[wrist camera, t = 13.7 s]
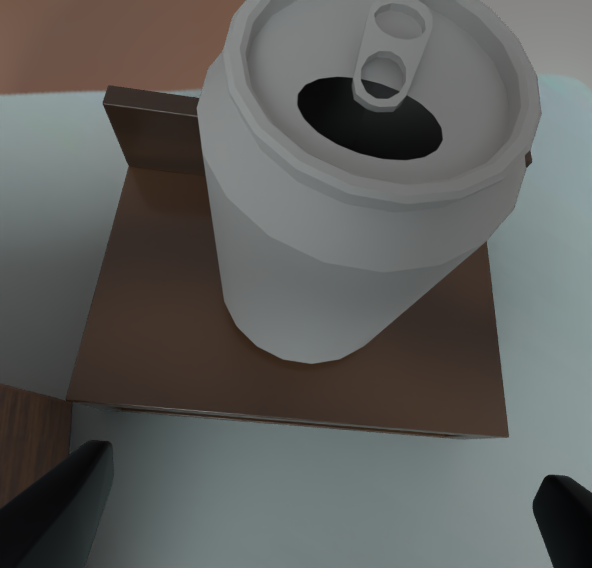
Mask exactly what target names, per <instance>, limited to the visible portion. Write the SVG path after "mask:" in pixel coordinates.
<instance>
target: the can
mask: <svg viewBox="0 0 592 568" xmlns="http://www.w3.org/2000/svg"><path fill="white" fill-rule="evenodd" d="M197 114H198V122H199V130H200V138H201V146H202V153H203V160H204V167H205V174H206V181H207V187H208V194H209V201H210V208H211V215H212V222H213V228H214V235H215V242H216V249H217V256H218V263H219V269H220V276H221V283H222V290H223V297H224V302H225V304H226V306H227V308H228V310H229V312H230V314H231V316H232V318H233V320H234V322H235V324H236V326H237V327H238V328H239V329H240V330H241V331H242V332H243V333H244V334H245V335H246V336H247V337H248V338H249V339H250V340H251V341H252V342H253V343H254V344H255V345H256V346H257V347H259V348H261V349H263V350H265V351H267V352H269V353H271V354H273V355H275V356H277V357H279V358H281V359H283V360H290V361H296V362H303V363H309V364H314V363H320V362H326V361H332V360H338V359H341V358H343V357H345V356H347V355H349V354H350V353H352V352H354V351H356V350H358V349H360V348H362V347H363V346H365V345H366V344H367V343H368V342H369V341H371V340H372V339H373V338H374V337H375V336H376V335H378V334H379V333H380V332H381V331H382V330H383V329H385V328H386V327H387V326H388V325H389V324H390V323H392V322H393V321H394V320H395V319H396V318H397V317H399V316H400V315H401V314H402V313H403V312H404V311H406V310H407V309H408V308H409V307H410V306H411V305H413V304H414V303H415V302H416V301H417V300H418V299H420V298H421V297H422V296H423V295H424V294H425V293H427V292H428V291H429V290H430V289H431V288H432V287H434V286H435V285H436V284H437V283H438V282H439V281H441V280H442V279H443V278H444V277H445V276H446V275H448V274H449V273H450V272H451V271H452V270H453V269H455V268H456V267H457V266H458V265H459V264H460V263H462V262H463V261H464V260H465V259H466V258H467V257H469V256H470V255H471V254H472V253H473V252H474V251H476V250H477V249H478V248H479V247H480V246H481V245H483V244H484V243H485V242H486V241H487V239H488V238H489V237H490V236H491V235H492V234H493V233H494V231H495V230H496V229H497V228H498V227H499V226H500V225H501V223H502V222H503V221H504V220H505V219H506V218H507V216H508V215H509V214H510V213H511V212H512V211H513V210H514V207H515V204H516V201H517V197H518V194H519V191H520V188H521V184H522V181H523V178H524V175H525V171H526V164H525V155H526V154H527V153H528V152H529V150H530V149H531V146H532V143H533V140H534V137H535V133H536V130H537V127H538V124H539V120H540V117H541V114H542V113H541V105H540V97H539V89H538V81H537V75H536V73H535V71H534V69H533V67H532V65H531V63H530V61H529V59H528V57H527V55H526V53H525V51H524V49H523V47H522V45H521V43H520V41H519V39H518V38H517V36H516V35H515V34H514V33H513V32H512V31H511V30H510V29H509V28H508V27H507V26H506V24H504V22H503V21H502V20H501V19H500V18H499V17H498V16H497V15H496V14H495V13H494V11H493V10H492V9H491V8H490V7H488V6H487V5H485V4H484V3H482V2H481V1H479V0H246V1H245V2H244V3H243V4H242V6H241V7H240V8H239V9H238V10H237V12H236V13H235V14H234V15H233V17H232V21H231V24H230V28H229V31H228V35H227V38H226V42H225V46H224V49H223V51H222V52H221V54H220V55H219V56H218V57H217V59H216V60H215V61H214V62H213V63H212V65H211V66H210V67H209V68H208V71H207V75H206V78H205V82H204V85H203V88H202V92H201V95H200V99H199V102H198V106H197Z"/></svg>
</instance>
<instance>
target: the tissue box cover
mask: <svg viewBox="0 0 592 568" xmlns="http://www.w3.org/2000/svg"><path fill="white" fill-rule="evenodd" d="M71 413H72V402H69V401H65V400H61V399H57V398H53V397H50V396H46V395H42V394H38V393H34V392H31V391H27V390H23V389H19V388H15V387H12V386H8V385H4V384H0V508H1V507H2V506H4V505H5V504H6V503H8V502H9V501H10V500H11V499H13V498H14V497H15V496H17V495H18V494H19V493H21V492H22V491H23V490H24V489H26V488H27V487H28V486H30V485H31V484H32V483H34V482H35V481H36V480H38V479H39V478H40V477H41V476H43V475H44V474H45V473H47V472H48V471H49V470H51V469H52V468H53V467H54V466H56V465H57V464H58V463H60V462H61V461H62V460H64V459H65V458H66V457H67V456H69V443H70V428H71Z"/></svg>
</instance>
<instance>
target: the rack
mask: <svg viewBox="0 0 592 568" xmlns="http://www.w3.org/2000/svg"><path fill="white" fill-rule="evenodd" d="M199 99H200V98H195V97H188V96H181V95H173V94H166V93H159V92H152V91H145V90H138V89H131V88H124V87H116V86H108V88H107V91H106V94H105V97H104V100H103V106H104V108H105V111H106V113H107V115H108V118H109V120H110V123H111V125H112V127H113V130H114V132H115V135H116V137H117V139H118V142H119V144H120V147H121V149H122V151H123V154H124V156H125V159H126V161H127V163H128V165H129V167H128V171H127V175H126V178H125V182H124V186H123V189H122V193H121V197H120V201H119V204H118V208H117V212H116V215H115V219H114V223H113V226H112V230H111V234H110V237H109V241H108V245H107V249H106V252H105V256H104V260H103V263H102V267H101V271H100V274H99V278H98V282H97V285H96V289H95V293H94V297H93V300H92V304H91V308H90V311H89V315H88V319H87V322H86V326H85V330H84V333H83V337H82V341H81V345H80V348H79V352H78V356H77V359H76V363H75V367H74V370H73V374H72V378H71V381H70V385H69V389H68V393H67V396H66V401H69V402H72V403H76V404H80V405H84V406H88V407H91V408H95V409H99V410H110V411H122V412H123V411H124V412H134V413H146V414H158V415H171V416H183V417H195V418H207V419H220V420H232V421H244V422H256V423H269V424H281V425H293V426H305V427H317V428H330V429H342V430H354V431H366V432H379V433H391V434H403V435H415V436H427V437H440V438H441V437H442V438H452V439H485V438H507V437H509V433H508V424H507V416H506V407H505V398H504V389H503V380H502V372H501V363H500V354H499V345H498V336H497V328H496V319H495V310H494V301H493V292H492V284H491V275H490V266H489V257H488V248H487V241H486V242H485V243H484V244H483V245H481V246H480V247H479V248H478V249H477V250H476V251H474V252H473V253H472V254H471V255H470V256H469V257H467V258H466V259H465V260H464V261H463V262H462V263H460V264H459V265H458V266H457V267H456V268H455V269H453V270H452V271H451V272H450V273H449V274H448V275H446V276H445V277H444V278H443V279H442V280H441V281H439V282H438V283H437V284H436V285H435V286H434V287H432V288H431V289H430V290H429V291H428V292H427V293H425V294H424V295H423V296H422V297H421V298H420V299H418V300H417V301H416V302H415V303H414V304H413V305H411V306H410V307H409V308H408V309H407V310H406V311H404V312H403V313H402V314H401V315H400V316H399V317H397V318H396V319H395V320H394V321H393V322H392V323H390V324H389V325H388V326H387V327H386V328H385V329H383V330H382V331H381V332H380V333H379V334H378V335H376V336H375V337H374V338H373V339H372V340H371V341H369V342H368V343H367V344H366V345H365V346H363V347H362V348H360V349H358V350H356V351H354V352H352V353H350V354H349V355H347V356H345V357H343V358H341V359H338V360H332V361H326V362H320V363H314V364H309V363H303V362H296V361H290V360H283V359H281V358H279V357H277V356H275V355H273V354H271V353H269V352H267V351H265V350H263V349H261V348H259V347H257V346H256V345H255V344H254V343H253V342H252V341H251V340H250V339H249V338H248V337H247V336H246V335H245V334H244V333H243V332H242V331H241V330H240V329H239V328H238V327H237V326H236V324H235V322H234V320H233V318H232V316H231V314H230V312H229V310H228V308H227V306H226V304H225V302H224V297H223V290H222V283H221V276H220V269H219V263H218V256H217V249H216V242H215V235H214V228H213V222H212V215H211V208H210V201H209V194H208V187H207V181H206V174H205V167H204V160H203V153H202V146H201V138H200V130H199V122H198V114H197V106H198V102H199ZM531 163H532V157H531V151H530V150H529V152H528V153H527V154H526V155H525V164H526V168H527V167H528V166H529V165H530V164H531Z"/></svg>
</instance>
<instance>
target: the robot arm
mask: <svg viewBox="0 0 592 568" xmlns="http://www.w3.org/2000/svg"><path fill="white" fill-rule="evenodd" d="M113 476H114V467H113V449H112V444H111V443H110V442H108V441H98V440H90V441H88V442H86V443H84V444H83V445H82V446H81V447H79V448H78V449H77V450H75V451H74V452H73V453H71V454H70V455H69V456H67V457H66V458H65V459H64V460H62V461H61V462H60V463H58V464H57V465H56V466H54V467H53V468H52V469H51V470H49V471H48V472H47V473H45V474H44V475H43V476H41V477H40V478H39V479H38V480H36V481H35V482H34V483H32V484H31V485H30V486H28V487H27V488H26V489H24V490H23V491H22V492H21V493H19V494H18V495H17V496H15V497H14V498H13V499H11V500H10V501H9V502H8V503H6V504H5V505H4V506H2V507H1V508H0V568H84V566H85V563H86V560H87V557H88V555H89V552H90V549H91V546H92V543H93V540H94V537H95V534H96V530H97V527H98V524H99V521H100V518H101V515H102V512H103V509H104V506H105V503H106V500H107V497H108V494H109V491H110V488H111V485H112V481H113ZM533 513H534V516H535V519H536V521H537V524H538V527H539V530H540V532H541V535H542V538H543V540H544V543H545V546H546V548H547V551H548V554H549V556H550V559H551V562H552V565H553V567H554V568H592V493H591V492H590V491H588V490H587V489H586V488H584V487H583V486H581V485H580V484H579V483H577V482H576V481H574V480H573V479H572V478H570V477H568V476H563V475H547V476H546V477H545V478H544V479H543V482H542V484H541V486H540V488H539V490H538V492H537V494H536V496H535V498H534V500H533Z"/></svg>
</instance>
